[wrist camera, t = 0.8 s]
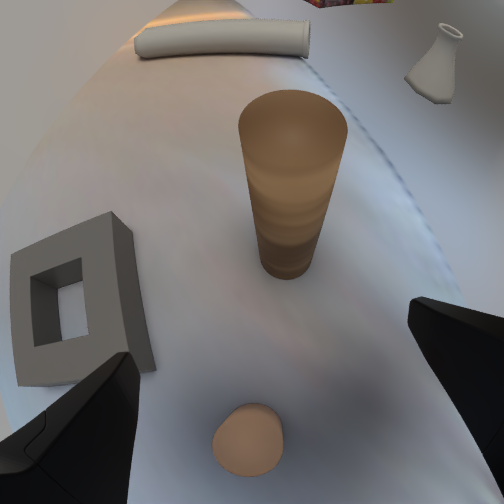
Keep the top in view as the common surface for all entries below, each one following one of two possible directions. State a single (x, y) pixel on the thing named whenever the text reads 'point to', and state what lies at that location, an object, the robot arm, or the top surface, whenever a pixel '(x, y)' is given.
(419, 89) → the flask
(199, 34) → the tube
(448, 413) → the top surface
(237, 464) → the short pin
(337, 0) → the snack box
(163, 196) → the top surface
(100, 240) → the grey square socket block
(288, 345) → the top surface
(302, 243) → the tall pin
